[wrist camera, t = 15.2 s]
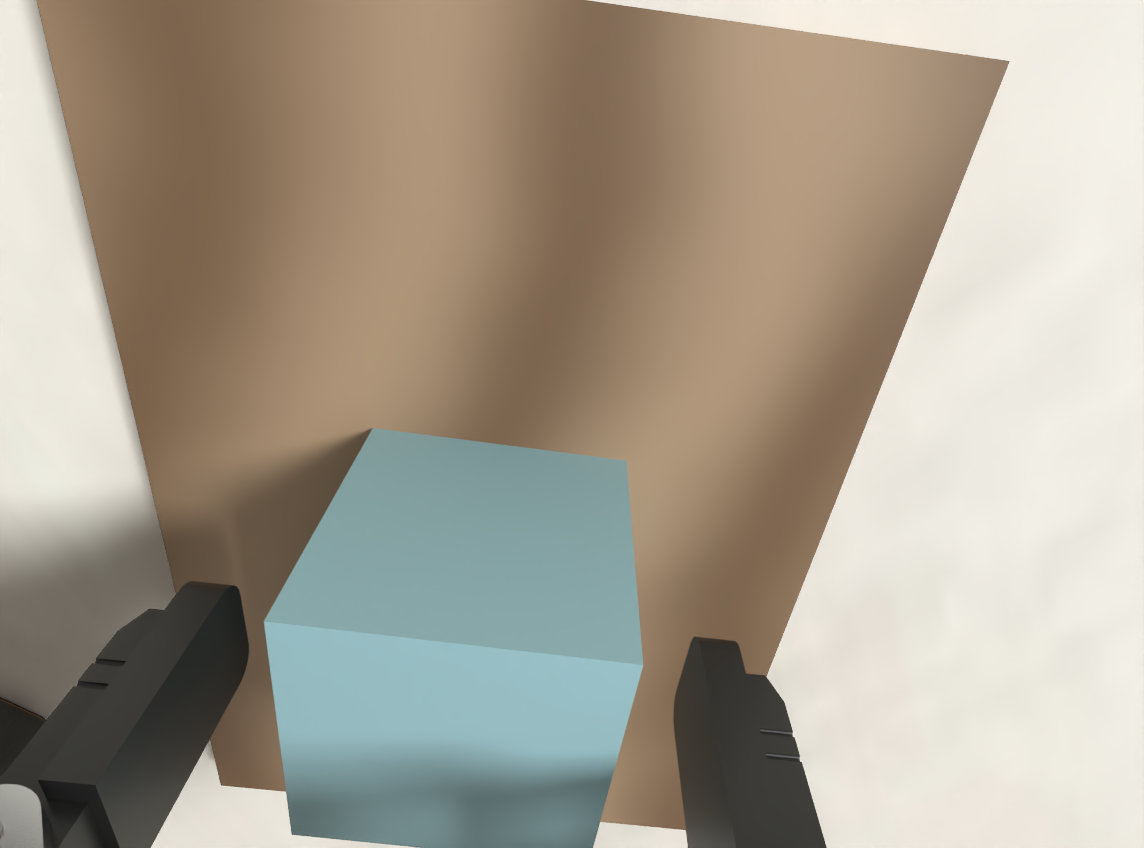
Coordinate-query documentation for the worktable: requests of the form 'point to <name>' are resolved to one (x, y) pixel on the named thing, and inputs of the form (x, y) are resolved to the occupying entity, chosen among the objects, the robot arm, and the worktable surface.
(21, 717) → the wooden tabletop sculpture
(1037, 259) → the worktable surface
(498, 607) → the teal cube
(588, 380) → the walnut board
